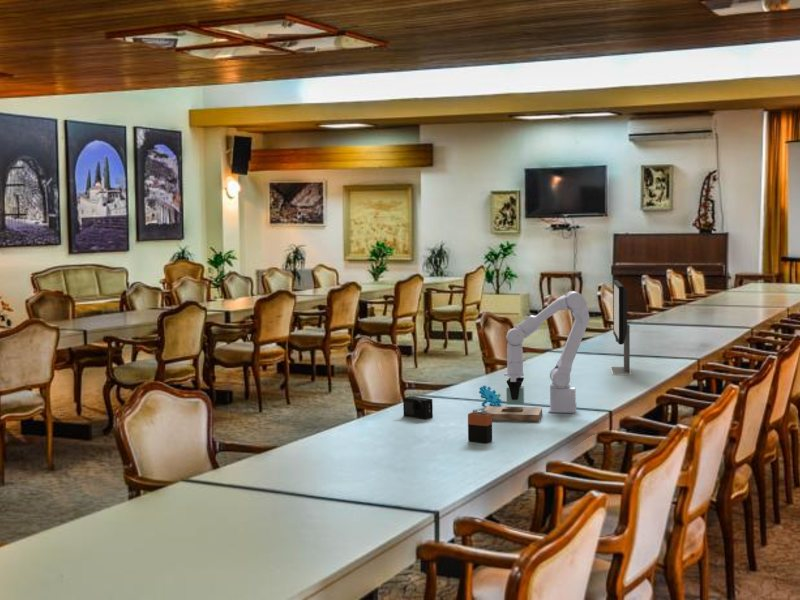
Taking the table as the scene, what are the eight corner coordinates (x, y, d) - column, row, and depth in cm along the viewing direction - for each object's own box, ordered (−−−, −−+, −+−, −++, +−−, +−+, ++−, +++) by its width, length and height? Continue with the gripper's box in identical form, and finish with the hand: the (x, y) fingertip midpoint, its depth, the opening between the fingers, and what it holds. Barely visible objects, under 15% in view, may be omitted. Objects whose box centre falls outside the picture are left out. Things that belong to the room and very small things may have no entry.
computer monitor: (608, 364, 497) (608, 280, 493) (626, 364, 496) (626, 279, 492) (613, 378, 456) (613, 286, 453) (633, 378, 455) (633, 286, 452)
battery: (486, 443, 333) (486, 412, 333) (467, 441, 337) (467, 410, 336) (492, 441, 337) (492, 410, 336) (474, 439, 341) (473, 408, 340)
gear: (489, 405, 390) (476, 384, 396) (480, 415, 393) (467, 394, 399) (508, 405, 398) (496, 384, 403) (499, 414, 401) (487, 394, 406)
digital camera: (400, 417, 380) (400, 397, 379) (410, 414, 384) (410, 395, 383) (422, 420, 373) (422, 400, 372) (432, 418, 377) (432, 398, 376)
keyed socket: (542, 414, 379) (542, 407, 379) (538, 422, 366) (538, 414, 366) (486, 413, 384) (486, 406, 384) (481, 420, 370) (481, 413, 370)
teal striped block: (524, 402, 387) (523, 385, 386) (523, 404, 383) (522, 387, 382) (507, 402, 388) (507, 385, 387) (506, 404, 384) (506, 387, 383)
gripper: (506, 358, 392) (506, 394, 393) (501, 364, 378) (502, 401, 379) (525, 358, 390) (525, 395, 391) (521, 364, 376) (521, 402, 377)
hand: (515, 398), depth 385 cm, fingers closed on teal striped block, 4 cm apart
